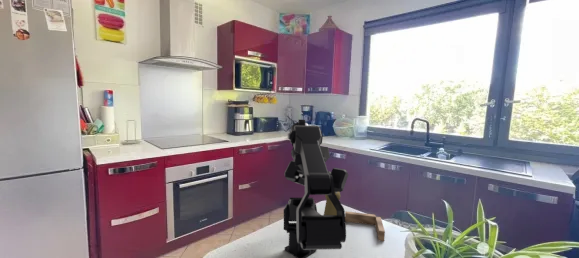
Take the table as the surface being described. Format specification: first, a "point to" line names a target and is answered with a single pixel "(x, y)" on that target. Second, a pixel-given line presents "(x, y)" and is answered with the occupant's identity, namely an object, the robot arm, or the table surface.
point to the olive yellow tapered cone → (330, 206)
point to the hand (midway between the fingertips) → (323, 189)
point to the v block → (367, 221)
